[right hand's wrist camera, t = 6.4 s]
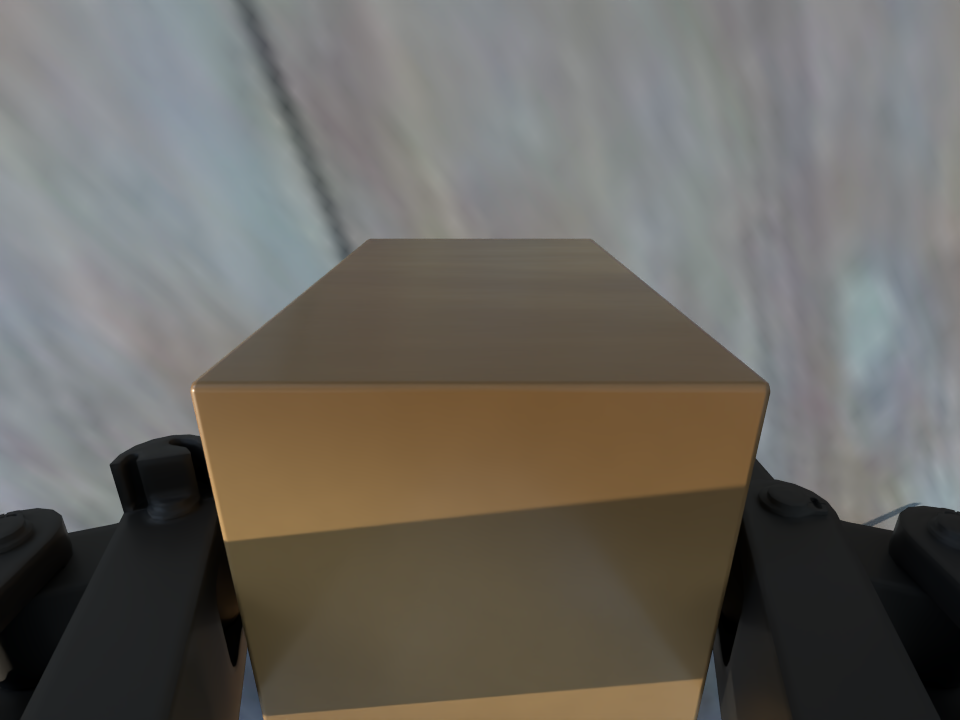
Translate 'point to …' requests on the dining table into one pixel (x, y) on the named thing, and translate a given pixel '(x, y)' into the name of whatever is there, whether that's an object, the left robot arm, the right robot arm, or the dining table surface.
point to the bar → (480, 487)
